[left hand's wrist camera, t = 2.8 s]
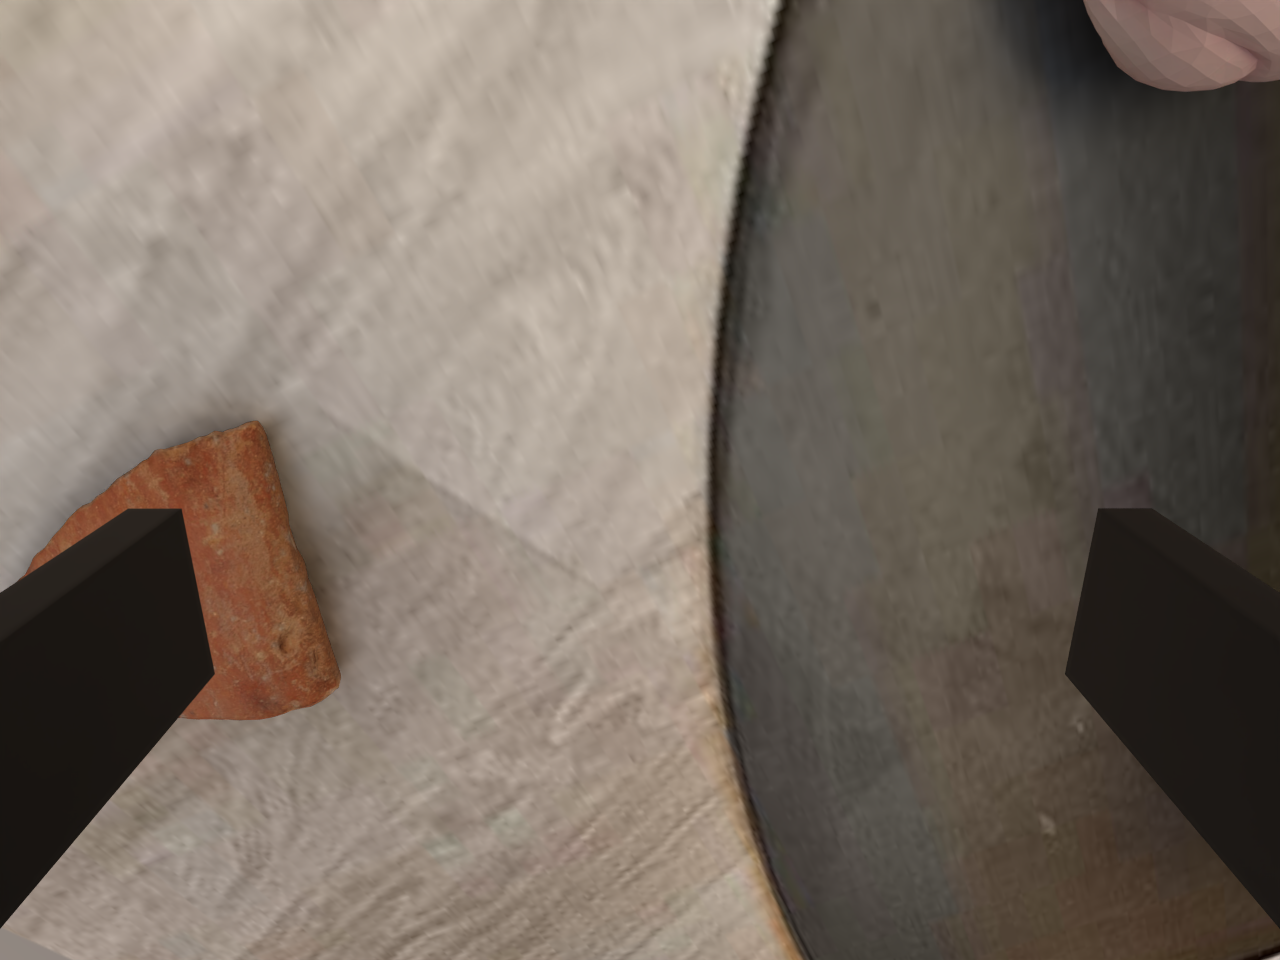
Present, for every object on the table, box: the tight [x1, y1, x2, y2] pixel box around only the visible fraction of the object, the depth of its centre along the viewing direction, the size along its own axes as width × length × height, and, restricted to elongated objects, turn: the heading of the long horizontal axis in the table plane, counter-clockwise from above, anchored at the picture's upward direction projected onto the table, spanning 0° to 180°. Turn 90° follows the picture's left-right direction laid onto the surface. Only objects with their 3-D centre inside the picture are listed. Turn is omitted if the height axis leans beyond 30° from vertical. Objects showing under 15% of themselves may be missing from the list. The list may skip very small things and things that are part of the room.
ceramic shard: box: [17, 421, 341, 720], centre depth 41 cm, size 15×6×15 cm
